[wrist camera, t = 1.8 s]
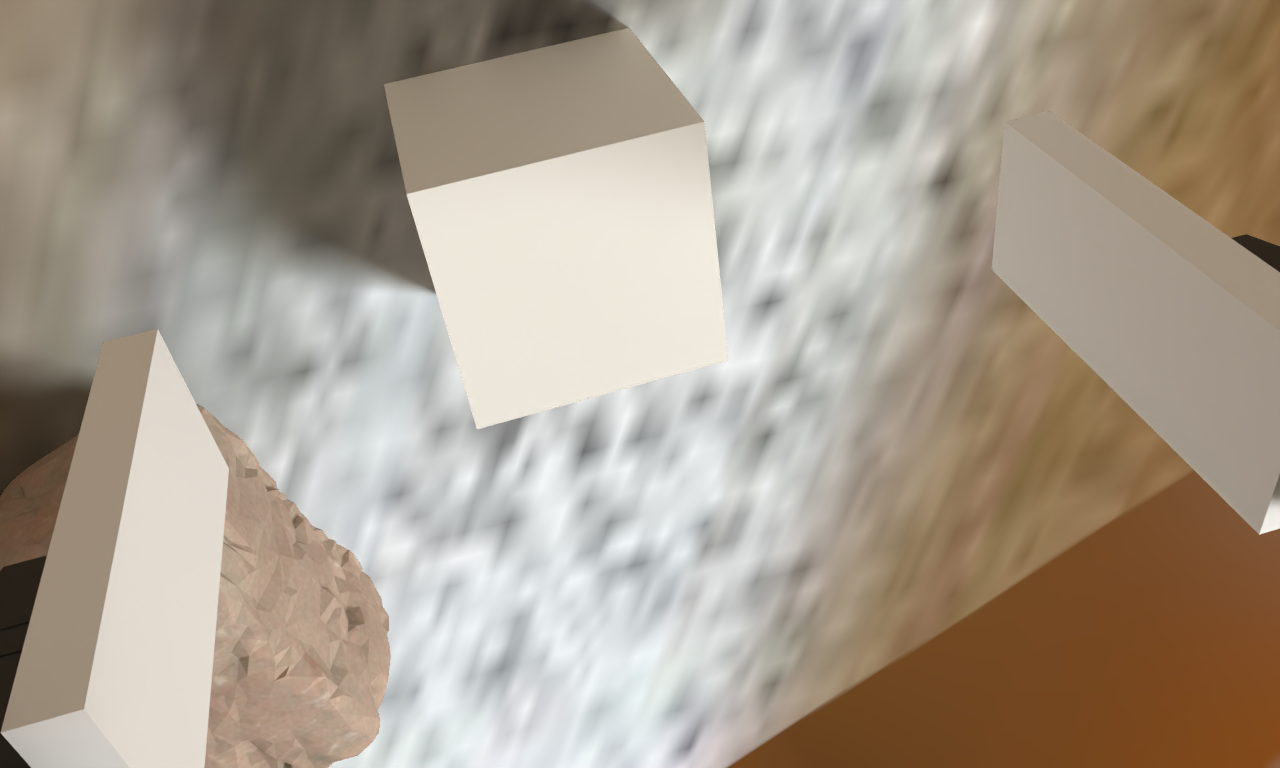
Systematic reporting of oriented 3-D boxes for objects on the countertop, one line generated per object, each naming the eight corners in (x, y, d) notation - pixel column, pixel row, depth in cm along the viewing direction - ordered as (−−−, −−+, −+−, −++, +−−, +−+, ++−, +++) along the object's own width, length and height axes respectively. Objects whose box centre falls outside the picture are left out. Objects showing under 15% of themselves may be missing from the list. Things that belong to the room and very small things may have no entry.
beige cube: (445, 293, 22) (477, 429, 18) (383, 82, 19) (406, 194, 15) (657, 239, 22) (728, 359, 19) (628, 26, 19) (704, 121, 16)
